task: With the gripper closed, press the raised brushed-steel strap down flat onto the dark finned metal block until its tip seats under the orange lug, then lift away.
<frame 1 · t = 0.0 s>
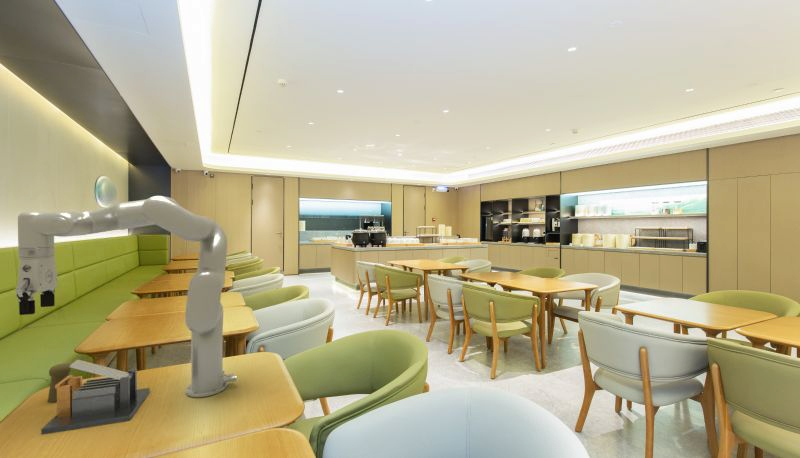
hand: (37, 310, 106), 31 cm above the table, tool pointing down, fingers open, 9 cm apart
heat sink base: (101, 411, 107), on the table
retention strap: (102, 370, 107), point 12 cm above the table, hinge at 25.0°
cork: (60, 398, 115), on the table
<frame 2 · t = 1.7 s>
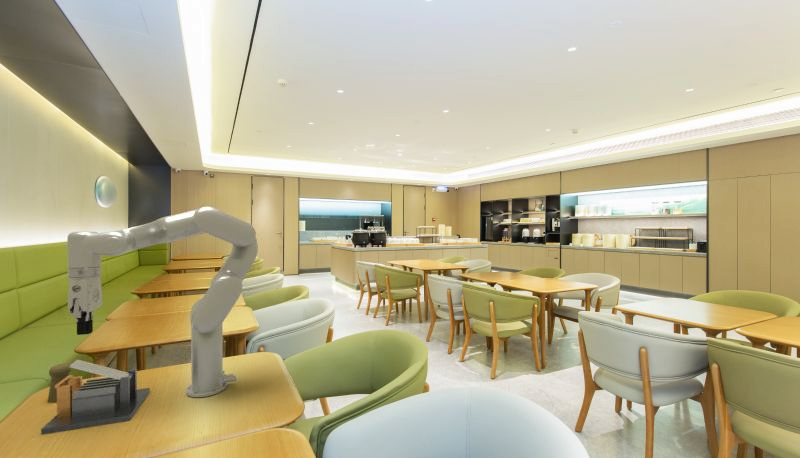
hand: (84, 333, 106), 24 cm above the table, tool pointing down, fingers closed
nothing on the table moved.
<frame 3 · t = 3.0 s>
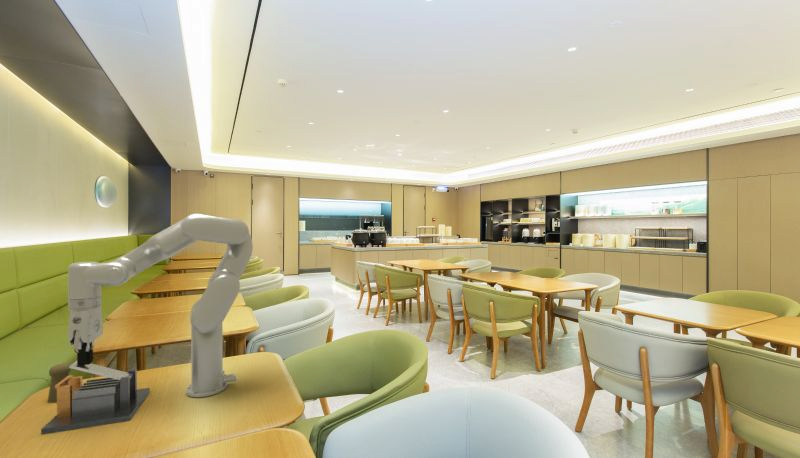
hand: (85, 363, 106), 15 cm above the table, tool pointing down, fingers closed
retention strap: (102, 371, 107), point 12 cm above the table, hinge at 24.2°, touching gripper
everything else where it was.
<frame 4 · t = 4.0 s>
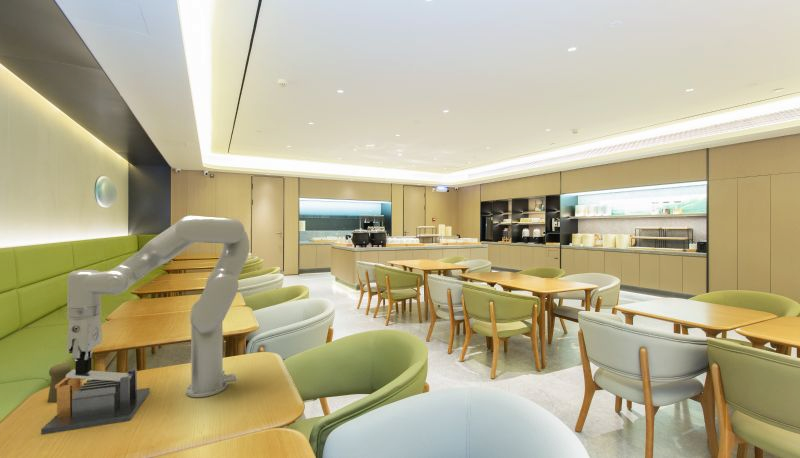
hand: (83, 372, 106), 13 cm above the table, tool pointing down, fingers closed
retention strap: (100, 375, 107), point 11 cm above the table, hinge at 13.3°, touching gripper
everything else where it was.
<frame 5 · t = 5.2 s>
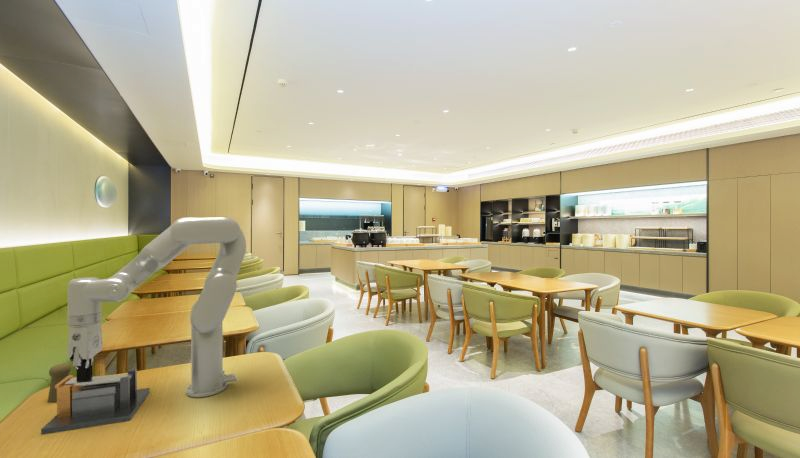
hand: (84, 379, 106), 10 cm above the table, tool pointing down, fingers closed
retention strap: (100, 379, 107), point 10 cm above the table, hinge at 3.1°, touching gripper
everything else where it was.
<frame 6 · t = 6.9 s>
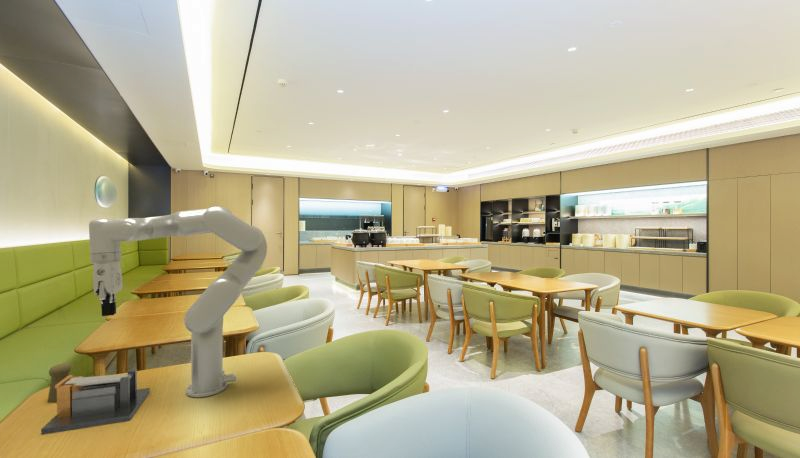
hand: (109, 314, 113), 28 cm above the table, tool pointing down, fingers closed
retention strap: (100, 379, 107), point 10 cm above the table, hinge at 3.0°
everything else where it was.
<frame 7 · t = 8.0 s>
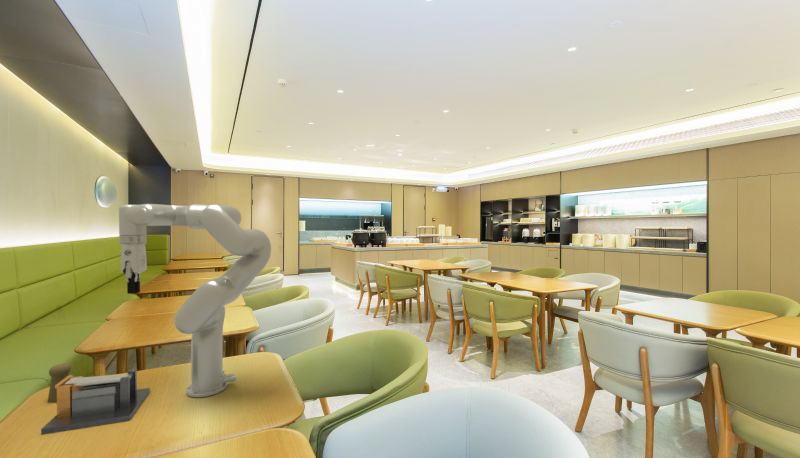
hand: (133, 292, 122), 33 cm above the table, tool pointing down, fingers closed
nothing on the table moved.
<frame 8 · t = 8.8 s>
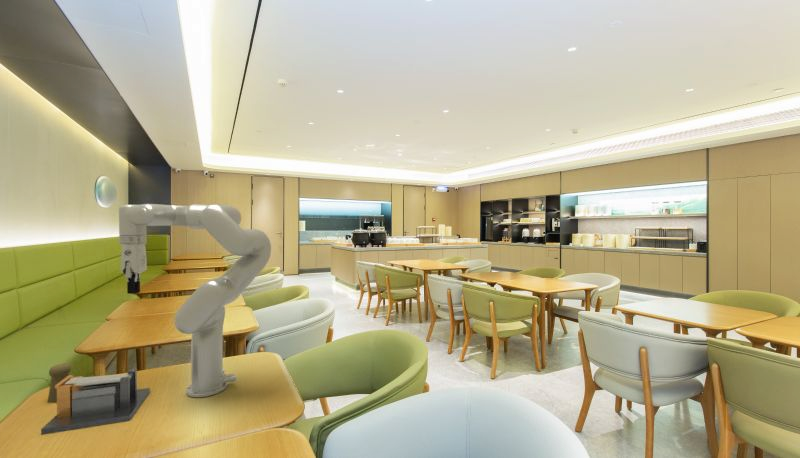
hand: (133, 292, 122), 33 cm above the table, tool pointing down, fingers closed
nothing on the table moved.
at the end: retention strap at +3° (first picture: +25°); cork moved 0.2 cm from its start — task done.
